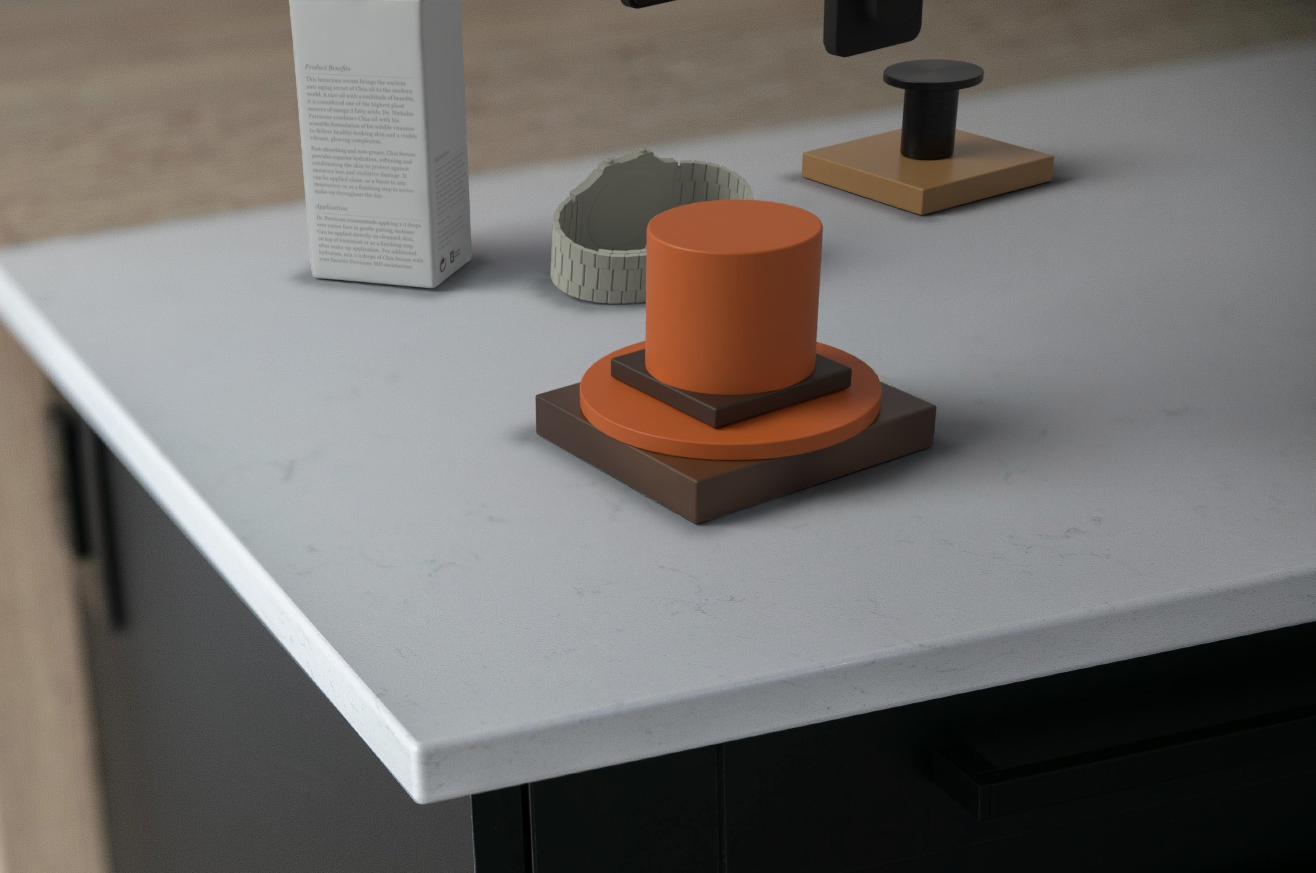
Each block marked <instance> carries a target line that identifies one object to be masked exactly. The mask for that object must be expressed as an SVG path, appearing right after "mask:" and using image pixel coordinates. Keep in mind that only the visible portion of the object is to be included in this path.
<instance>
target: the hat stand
mask: <svg viewBox="0 0 1316 873" xmlns="http://www.w3.org/2000/svg"><path fill="white" fill-rule="evenodd" d="M984 77H985V71H984V68H983V67H981V66H980V65H977V64H975V63H971V62H969V61H968V62H967V61H962V60H955V59H938V58H937V59H936V58H931V59H929V58H928V59H927V58H926V59H914V60H906V61H902V62H897V63H894V64H890V65H889V66H886V67H885V68H884V70H883V74H882V80H883V82H884V83H885V84H886V85H888V86H890V87H893V88H896V89H901V90H904V93H903V94H904V95H903V106H902V119H901V120H902V121H901V128H897V129H894V130H889V131H885V132H881V133H877V134H873V135H868V136H865V137H861V138H856V139H853V140H849V141H848V140H847V141H845V142H840V143H836V144H832V145H827V146H824V147H820V148H815V149H810V150H807V151H804V152H802V158H801V160H802V162H801V177H802V178H805V179H808V180H811V181H814V182H817V183H821V184H822V185H823V184H824V185H826V186H829V187H833V188H835V189H838V190H842V191H845V192H849V193H851V194H853V195H854V194H855V195H858V196H861V197H864V198H867V199H870V200H873V201H875V202H879V203H882V204H885V205H888V206H891V207H894V208H898V209H900V210H904V211H906V212H910V213H912V214H916V215H918V216H924V215H928V214H931V213H936V212H939V211H943V210H947V209H951V208H954V207H958V206H962V205H965V204H969V203H972V202H973V203H974V202H977V201H980V200H984V199H988V198H991V197H995V196H998V195H1003V194H1006V193H1010V192H1014V191H1019V190H1021V189H1025V188H1030V187H1032V186H1037V185H1040V184H1044V183H1048V182H1051V181H1052V179H1053V174H1054V173H1053V172H1054V164H1055V155H1053V154H1049V153H1046V152H1044V151H1043V152H1042V151H1038V150H1035V149H1031V148H1027V147H1024V146H1020V145H1016V144H1013V143H1009V142H1005V141H1002V140H999V139H998V140H997V139H994V138H991V137H988V136H984V135H979V134H976V133H973V132H968V131H966V130H961V129H957V119H958V108H959V96H960V90H966V89H970V88H973V87H976V86H979V85H980V84H981V83H982V82H984Z"/></svg>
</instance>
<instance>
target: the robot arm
mask: <svg viewBox="0 0 1316 873" xmlns="http://www.w3.org/2000/svg"><path fill="white" fill-rule="evenodd" d="M675 1H677V0H620V3H621V4H622V5H623V6H625V7H627V8H630V9H636V10H637V9H638V10H639V9H643V8H648V7H653V6H657V5H662V4H666V3H670V2H671V3H672V2H675ZM923 7H924V0H823V26H822V27H823V28H822V30H823V31H822V43H823V46H824V49H825V51H826V53H827V54H829V55H831V56H836V57H840V58H850V57H853V56H858V55H862V54H865V53H870V52H873V51H878V50H881V49H886V48H890V47H894V46H897V45H901V44H905V43H909V42H912V41H914V40H915V39H916V38H918V36H919V34H920V33H921V31H922V24H923Z"/></svg>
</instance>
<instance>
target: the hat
mask: <svg viewBox="0 0 1316 873" xmlns="http://www.w3.org/2000/svg"><path fill="white" fill-rule="evenodd" d="M823 235H824V225H823V223H822V220H821V219H820V218H819V216H817V215H815V213H813V212H811V211H809V210H807V209H805V208H801V207H798V206H794V205H790V204H787V203H781V202H775V201H769V200H759V199H753V200H715V201H705V202H698V203H692V204H687V205H683V206H679V207H675V208H672V209H669V210H667V211H664V212H662V213H660V214H658V215H657V216H655V217H654V218H653V219H651V221H650V222H649V224H648V226H647V244H646V248H647V251H646V301H645V334H644V336H645V340H643V341H639V342H636V343H633V344H629V345H626V346H624V347H621V348H619V349H617V350H616V349H615V350H614V351H612V352H610V353H608V354H606V355H604V356H602V357H601V358H599V359H598V360H597V361H595V362H594V363H593V364H591V366H589V367H588V369H586V370H585V372H584V374H583V375H582V377H581V380H580V382H581V383H580V407H581V410H582V412H583V414H584V416H585V417H586V418H587V420H588V421H589V422H590V423H591V424H592V425H593V426H594V427H596V428H597V429H598V430H600V431H601V432H603V433H604V434H606V435H608V436H610V437H612V438H614V439H616V440H618V441H620V442H623V443H626V444H628V445H631V446H634V447H637V448H641V449H644V450H648V451H652V452H656V453H661V454H666V455H671V456H678V457H685V458H694V459H706V460H731V461H733V460H759V459H772V458H780V457H787V456H794V455H799V454H804V453H809V452H813V451H817V450H820V449H824V448H827V447H830V446H833V445H836V444H838V443H841V442H844V441H846V440H848V439H850V438H852V437H854V436H856V435H857V434H859V433H860V432H862V431H863V430H865V429H866V428H867V427H868V426H869V425H870V424H871V423H872V422H873V421H874V420H875V418H876V417H877V415H878V413H879V410H880V407H881V397H882V386H881V382H882V381H881V379H880V378H879V376H878V374H877V373H876V371H875V370H874V369H873V368H872V367H871V366H870V365H869V364H867V363H866V362H865V361H863V360H862V359H860V358H859V357H857V356H856V355H854V354H852V353H849V352H847V351H845V350H843V349H840V348H838V347H835V346H832V345H830V344H827V343H823V342H820V341H817V339H818V325H819V324H818V323H819V305H820V290H821V289H820V286H821V269H822V253H823V239H824V238H823V237H824V236H823Z"/></svg>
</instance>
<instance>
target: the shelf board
mask: <svg viewBox="0 0 1316 873" xmlns="http://www.w3.org/2000/svg"><path fill="white" fill-rule="evenodd" d="M880 382H881V386H882V397H881V407H880V410H879V413H878V415H877V417H876V418H875V420H874V421H873V422H872V423H871V424H870V425H869V426H868V427H867V428H866V429H865V430H863V431H862V432H860V433H859V434H857V435H856V436H854V437H852V438H850V439H848V440H846V441H844V442H841V443H838V444H836V445H833V446H830V447H827V448H824V449H820V450H817V451H813V452H809V453H804V454H799V455H794V456H787V457H780V458H772V459H759V460H733V461H731V460H706V459H694V458H685V457H678V456H671V455H666V454H661V453H656V452H652V451H648V450H644V449H641V448H637V447H634V446H631V445H628V444H626V443H623V442H620V441H618V440H616V439H614V438H612V437H610V436H608V435H606V434H604V433H603V432H601V431H600V430H598V429H597V428H596V427H594V426H593V425H592V424H591V423H590V422H589V421H588V420H587V418H586V417H585V416H584V414H583V412H582V410H581V407H580V383H581V381H580V382H576V383H572V384H569V385H566V386H562V387H558V388H555V389H552V390H548V391H544V392H541V393H537V394H536V395H535V433H536V435H538V436H540V437H542V438H543V439H544V440H547V441H548V442H551V443H552V444H554V445H555V446H557V447H559V448H561V449H562V450H565V451H566V452H568V453H570V454H571V455H573V456H575V457H577V458H578V459H581V460H582V461H584V462H586V463H587V464H589V465H590V466H593V467H594V468H596V469H598V470H599V471H601V472H603V473H605V474H607V475H609V476H611V477H612V478H614V479H615V480H617V481H619V482H621V483H623V484H624V485H626V486H628V487H630V488H631V489H633V490H634V491H637V492H638V493H641V494H642V495H644V496H646V497H647V498H649V499H651V500H653V501H655V502H656V503H658V504H660V505H661V506H663V507H665V508H667V509H669V510H670V511H672V512H674V513H675V514H678V515H679V516H681V517H683V518H684V519H686V520H688V521H690V522H691V523H693V524H700V523H703V522H707V521H710V520H713V519H716V518H718V517H719V518H720V517H722V516H725V515H729V514H731V513H734V512H737V511H740V510H743V509H746V508H749V507H752V506H755V505H758V504H761V503H764V502H767V501H770V500H774V499H776V498H779V497H782V496H785V495H789V494H791V493H794V492H797V491H800V490H803V489H806V488H810V487H813V486H817V485H819V484H822V483H825V482H827V481H830V480H834V479H836V478H841V477H843V476H846V475H849V474H852V473H855V472H858V471H861V470H865V469H867V468H870V467H873V466H877V465H880V464H882V463H885V462H889V461H891V460H893V459H897V458H900V457H903V456H906V455H909V454H912V453H915V452H918V451H921V450H924V449H928V448H930V447H933V446H934V443H935V431H936V420H937V410H938V406H937V405H936V404H935V403H932V402H930V401H927V400H926V399H923V398H920V397H918V396H915V395H913V394H911V393H908V392H907V391H904V390H901V389H899V388H897V387H895V386H892V385H889V384H887V383H885V382H883V381H880Z"/></svg>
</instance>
